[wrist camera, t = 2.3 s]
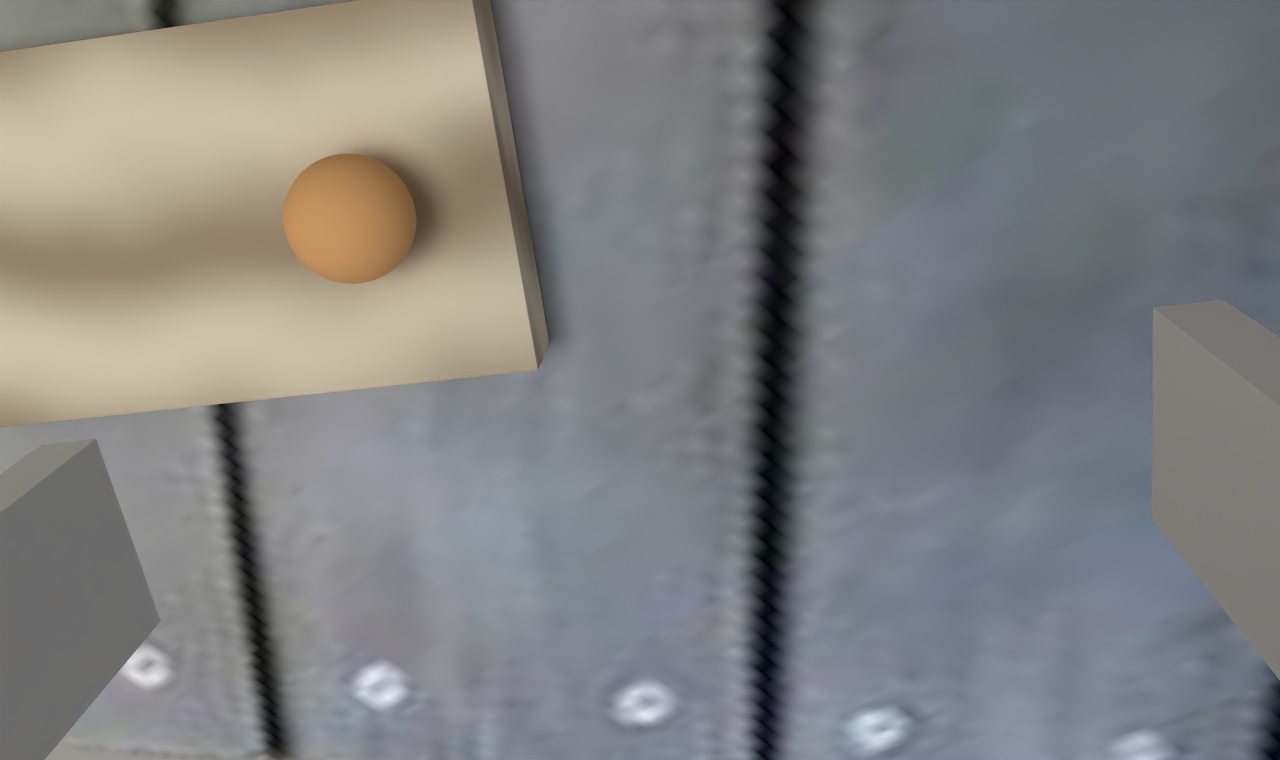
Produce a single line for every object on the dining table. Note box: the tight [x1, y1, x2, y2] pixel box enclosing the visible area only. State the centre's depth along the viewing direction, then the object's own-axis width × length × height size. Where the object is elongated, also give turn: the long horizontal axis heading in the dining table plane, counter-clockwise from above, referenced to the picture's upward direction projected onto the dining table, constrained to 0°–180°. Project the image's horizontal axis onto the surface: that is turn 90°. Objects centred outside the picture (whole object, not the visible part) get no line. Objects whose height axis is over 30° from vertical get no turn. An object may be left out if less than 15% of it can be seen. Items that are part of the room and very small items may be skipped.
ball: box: [283, 154, 416, 284], centre depth 30 cm, size 4×4×4 cm
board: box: [0, 0, 549, 427], centre depth 34 cm, size 11×30×2 cm, turn 98°
